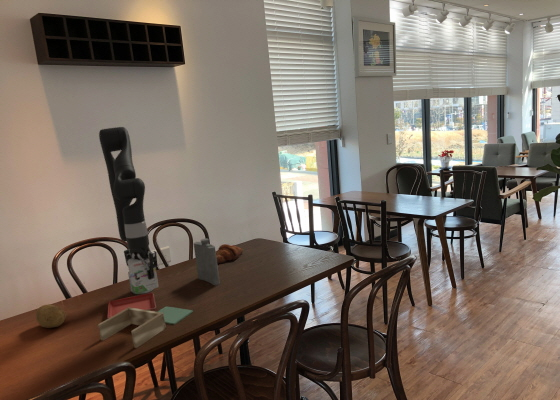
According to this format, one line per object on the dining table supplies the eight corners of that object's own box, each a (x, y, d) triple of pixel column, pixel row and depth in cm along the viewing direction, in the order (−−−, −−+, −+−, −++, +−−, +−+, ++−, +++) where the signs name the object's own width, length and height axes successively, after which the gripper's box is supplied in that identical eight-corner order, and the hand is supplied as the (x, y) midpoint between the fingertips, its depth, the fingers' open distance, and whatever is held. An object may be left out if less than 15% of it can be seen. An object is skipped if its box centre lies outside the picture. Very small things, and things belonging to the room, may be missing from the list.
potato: (48, 336, 160) (43, 316, 158) (32, 327, 169) (28, 308, 167) (74, 325, 167) (70, 305, 165) (58, 317, 176) (54, 298, 174)
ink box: (136, 294, 154) (130, 263, 152) (132, 290, 158) (126, 260, 156) (159, 287, 159) (154, 256, 156) (154, 283, 163) (149, 253, 160)
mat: (146, 319, 165) (146, 318, 165) (166, 307, 175) (166, 306, 175) (174, 324, 159) (174, 323, 159) (193, 311, 168) (193, 310, 168)
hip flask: (197, 278, 205) (191, 238, 201) (204, 275, 208) (199, 235, 204) (215, 285, 193) (209, 243, 189) (222, 283, 196) (217, 240, 192)
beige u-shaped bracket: (101, 340, 152) (98, 324, 151) (131, 321, 165) (128, 307, 164) (136, 348, 144) (133, 331, 143) (165, 328, 157) (163, 312, 155)
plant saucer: (154, 298, 186) (153, 291, 186) (157, 315, 169) (156, 307, 169) (109, 308, 180) (108, 301, 180) (108, 326, 164) (107, 318, 163)
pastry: (215, 255, 239) (213, 241, 238) (243, 252, 240) (241, 238, 239) (213, 265, 223) (211, 250, 221) (242, 261, 224) (240, 247, 222)
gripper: (114, 236, 154) (122, 279, 158) (143, 238, 148) (151, 283, 151) (130, 230, 161) (137, 272, 164) (159, 232, 154) (165, 275, 157)
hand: (143, 277), depth 157 cm, fingers closed on ink box, 6 cm apart
